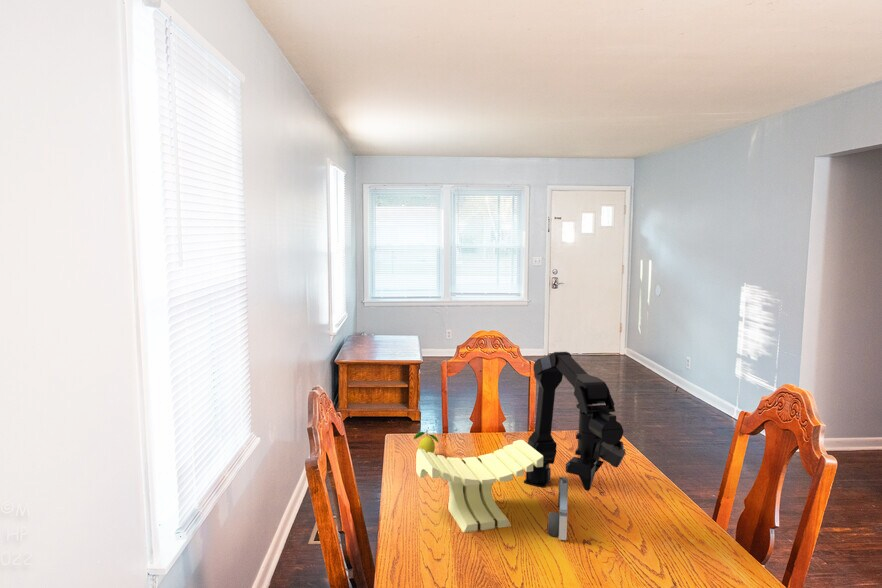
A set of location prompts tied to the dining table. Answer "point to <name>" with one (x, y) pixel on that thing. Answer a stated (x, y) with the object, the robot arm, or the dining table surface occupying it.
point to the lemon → (426, 442)
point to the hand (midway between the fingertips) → (587, 490)
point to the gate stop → (553, 524)
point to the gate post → (561, 480)
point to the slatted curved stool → (478, 481)
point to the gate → (563, 512)
